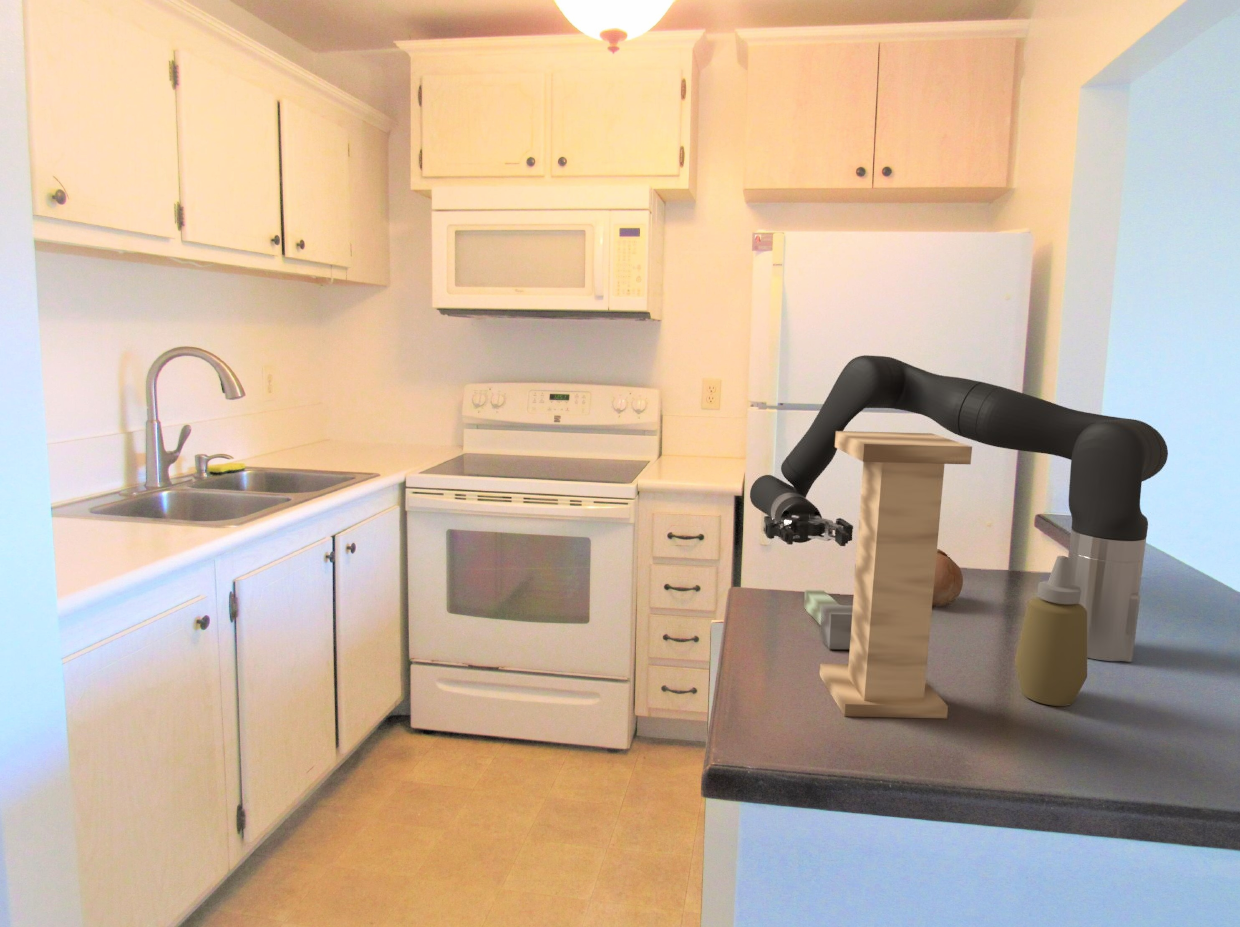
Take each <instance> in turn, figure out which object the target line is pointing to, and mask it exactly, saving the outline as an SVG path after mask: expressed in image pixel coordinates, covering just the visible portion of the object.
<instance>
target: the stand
mask: <svg viewBox="0 0 1240 927" xmlns="http://www.w3.org/2000/svg"><path fill="white" fill-rule="evenodd" d="M835 447H836V448H837V450H839V451H841V452H844V453H846V454H847V455H848V456H849V455H850V456H851V457H853V458H855V459H857V460H859V461H861V462H862V474H861V475H862V476H861V488H860V489H861V492H860V503H859V515H858V516H859V518H858V530H857V544H856V545H857V546H856V555H855V557H856V559H855V571H854V572H855V573H854V585H853V601H852V606H853V611H852V625H851V639H850V649H849V654H848V655H849V656H848V664H846V663H845V664H844V663H820V664H819V676H820V678H821V681H822V682H823V683H824V684H825V686H826V689H827V690H828V691H829V693H830V695H831V696H832V698H833V700H834V701H835V703H836V704H837V706H838V709H839V710H840V712H841V713H842V715H843V716H844V717H856V718H857V717H859V718H861V717H865V718H903V719H904V718H905V719H912V718H913V719H914V718H915V719H948V711H949V705H947V704H946V702H945V701H944V700H943V699H942V698H941V697H940V695H939V694H938V693H937V692H936V691H935V690H934V688H932V686H931V685H930V684H929V683H928V682H927V681H926V680H927V679H926V678H927V668H928V656H929V644H930V635H931V634H930V632H931V621H932V620H931V619H932V613H933V612H932V611H933V610H932V609H933V606H932V601H933V589H934V578H935V567H936V555H937V549H938V543H939V532H940V531H939V530H940V520H941V508H942V498H943V497H942V496H943V483H944V474H945V465H971V463H972V455H973V454H972V453H973V446H971V445H968V444H965V443H962V442H959V441H955V440H953V439H950V438H947V437H944V436H940V435H937V434H935V433H932V432H931V433H929V432H927V433H926V432H896V431H895V432H894V431H893V432H892V431H891V432H889V431H887V432H886V431H884V432H883V431H857V430H855V431H853V430H851V431H850V430H849V431H848V430H847V431H846V430H845V431H844V430H843V431H836V435H835Z"/></svg>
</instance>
